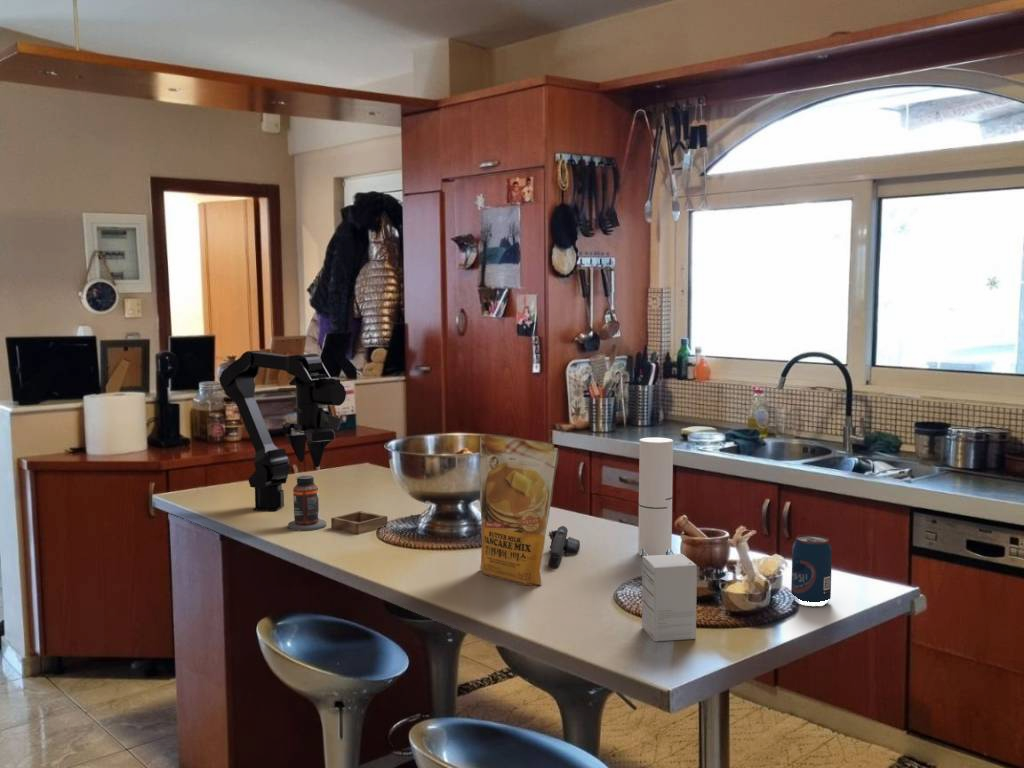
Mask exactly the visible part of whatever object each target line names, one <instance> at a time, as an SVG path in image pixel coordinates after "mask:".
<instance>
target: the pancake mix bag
mask: <svg viewBox="0 0 1024 768" xmlns="http://www.w3.org/2000/svg"><path fill="white" fill-rule="evenodd" d="M478 444H479V507H480V522H481V527H480V528H481V529H480V530H481V551H480V552H481V553H480V555H481V556H480V564H479V565H480V566H479V570H481V571H482V572H483V574H484V575H486V576H489V577H493V578H496V579H500V580H504V581H508V582H512V583H514V584H518V585H524V586H531V585H537V586H542V585H543V584H542V577H541V572H540V570H541V565H542V560H543V559H542V558H543V553H544V549H545V542H546V534H547V527H548V524H549V523H548V522H549V517H550V512H551V511H550V508H551V505H552V501H553V495H554V494H553V493H554V487H555V486H554V485H555V477H556V472H557V469H558V468H557V467H558V464H559V458H560V457H559V456H560V455H559V448H558V447H556V446H555V444H554V443H552V442H548V441H543V440H542V441H541V440H534V439H533V440H532V439H526V438H525V439H524V438H521V437H515V436H508V435H507V436H506V435H497V434H496V435H495V434H483V435H481V436H478Z"/></svg>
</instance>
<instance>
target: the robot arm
mask: <svg viewBox="0 0 1024 768" xmlns="http://www.w3.org/2000/svg"><path fill="white" fill-rule="evenodd" d="M260 368H264V369H272V370H279V371H284V372H286V373H288V375H290V376H294V378H292V380H290V381H289V383H288V385H289V386H295V400H296V401H295V407H292V409H293V412H295V413H296V421H285V423H284V424H283V425H282V433H283V434H285V437H286V438H287V441H288V442H289V444H290V446H291V448H292V449H293V451H294V454H295V456H296V457H297V460H298V462H299V463H304V462H305V455H306V454H305V453H306V447H308V451H309V455H310V457H311V461H312V463H313V466H314V468H319V467H320V464H321V463H322V458H323V455H324V452H325V449H326V447H327V445H329V444H330V443H332V442H333V440H335V439H336V431H339V429H340V425H341V423H342V418H341V417H338V416H333V415H332V414H331V412H330V411H328V410H324V408H323V407H320V405H323V406H324V405H325V406H336V407H339V406H341V405H343V404H344V402H345V400H346V399H347V391H346V389H345V386H344V385H343V383H341V379H340V378H339V377H334V378H333V377H332V376H331V375H330V373H329V371H328V370H327V368H326V366H325V365H324V362H322V359H321V357H320V355H319V354H318V353H303V354H293V355H291V354H290V355H289V354H281V353H276V352H275V353H274V352H273V353H272V352H265V351H262V350H261V351H260V350H248V351H245V352H243V353H242V355H240V357H239V358H238V359H235V360H234V361H233V362H232V363H230V364H229V365H228V366H227V367H226V368H225V369H223V370H222V372H221V373H220V377H219V384H220V386H221V387H222V389H223V391H224V393H225V395H226V396H227V397H228V398H229V399H231V400H232V401H233V402H234V403H235V404H236V406H237V407H236V408H237V410H238V411H239V415H240V416H241V419H242V422H243V424H244V426H245V429H246V431H247V433H248V434H247V435H248V437H249V438H250V441H251V444H252V446H253V449H254V451H255V452H254V453H255V455H254V461H253V463H254V468H255V471H253V473H252V474H251V475H250V477H249V478H248V479H247V480H248V484H249V487H250V488H254V501H255V502H254V503H255V504H254V507H253V508H252V511H268V512H269V511H275V512H276V511H278V510H280V509H282V508H283V507H285V496H284V494H285V493H284V492H285V491H284V489H282V487H283V486H282V485H283V484H286V483H287V480H288V477H289V474H290V471H291V465H290V462H291V460H290V459H289V457H288V455H287V451H286V449H285V448H284V447H280V448H278V447H277V446H276V445H275V444H274V442H273V439H272V437H271V435H270V432H269V430H268V427H267V425H266V423H265V420H264V417H263V415H262V412H261V411H260V407H259V405H258V403H257V400H256V398H255V390H256V382H255V379H256V378H257V376H258V375H259V373H260ZM335 430H336V431H335Z"/></svg>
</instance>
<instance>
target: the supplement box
mask: <svg viewBox="0 0 1024 768" xmlns="http://www.w3.org/2000/svg"><path fill="white" fill-rule="evenodd" d="M641 557H642V559H641V561H642V563H641V564H642V565H641V567H642V568H641V569H642V570H641V571H642V573H641V575H642V580H641V581H642V586H641V588H642V589H641V591H642V593H641V594H642V595H641V596H642V597H641V604H642V605H641V626H642V628H643V630H644V631H645V632H646V633H647V635H648V636H650V638H651V639H652V640H653V641H654V643H657V642H665V641H682V640H683V641H684V640H696V638H697V583H698V582H697V580H698V578H697V577H698V575H697V574H698V566H697V564H696V563H694V561H692V560H691V559H689V558H688V557H687V556H685V555H684V554H683V553H675V554H674V553H673V554H672V553H671V554H670V555H651V556H641Z"/></svg>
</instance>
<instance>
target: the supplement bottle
mask: <svg viewBox="0 0 1024 768" xmlns="http://www.w3.org/2000/svg"><path fill="white" fill-rule="evenodd" d="M314 478H315V477H314V476H313V475H299V476H297V477H296V485H295V486H293V490H292V492H293V493H292V494H293V495H292V497H293V517H294V520H295V523H296V524H299V525H310V524H315V523H317V522H318V521H319V519H320V507H319V506H320V503H319V487H318V486H317V485H316V484H315V481H314V480H315V479H314Z"/></svg>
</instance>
